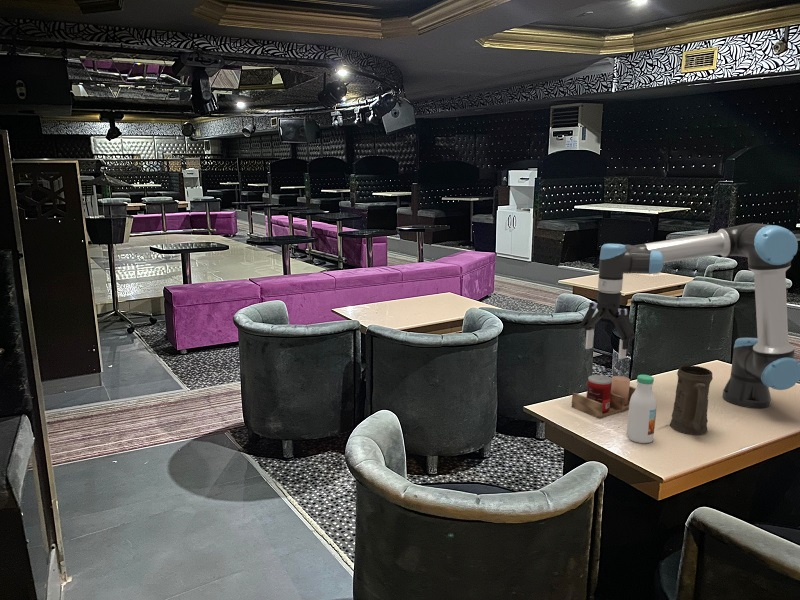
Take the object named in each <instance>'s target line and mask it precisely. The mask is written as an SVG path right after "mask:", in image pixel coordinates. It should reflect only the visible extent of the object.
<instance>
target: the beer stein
mask: <svg viewBox="0 0 800 600" xmlns="http://www.w3.org/2000/svg"><path fill="white" fill-rule="evenodd" d="M676 375H677V384H676V389H675V398H674V403H673V410H672V412H671V413H672V414H671V420H670V424H669V425H670V427H671V428H672V429H674V430H675V431H677V432H679V433H682V434H687V435H693V436H694V435H695V436H696V435H697V436H701V435H705V434H706V433H708V429H709V428H708V422H709V421H708V407H709V393H710V386H711V385H710V384H711V382H712V381H713V372H712V371H711V370H710V369H708V368H705V367H702V366H698V365H681V366H679V367H678V370H677V372H676Z"/></svg>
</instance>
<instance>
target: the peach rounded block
mask: <svg viewBox="0 0 800 600" xmlns="http://www.w3.org/2000/svg"><path fill="white" fill-rule="evenodd" d="M611 379H612V386H611V393H614V394H616V395H619V396H622V397H624V398H625V402H624V406H627V405H628V397H629V386H630V384H631V379H630V378H629V377H627V376H624V375H623V376H622V375H614V376H613V375H612V376H611Z"/></svg>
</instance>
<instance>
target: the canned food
mask: <svg viewBox="0 0 800 600" xmlns="http://www.w3.org/2000/svg"><path fill="white" fill-rule="evenodd" d="M611 386H612V377H609V376H606V375H601V374H592V375H589V376H588V378H587V385H586V387H587V388H586V397H587V398H589V399H592V400H594V401H597V402H599V403H602V404H603V407H602V413H606V412H608V411H609V408H610V397H611Z"/></svg>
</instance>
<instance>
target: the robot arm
mask: <svg viewBox="0 0 800 600" xmlns="http://www.w3.org/2000/svg"><path fill="white" fill-rule="evenodd" d="M798 245H799V243H798V240H797V237H796V236H795V234H794V232H792V231H791V230H790V229H787V228H785V227H783V226H780V225H775V224H773V225H772V224H763V223H758V222H755V223H754V222H752V223H746V224H740V225H735V226H731V227H724V228H719V230H717V232H713V233H706V234H701V235H700V234H698V235H691V236H685V237H681V238H679V237H678V238H674V239H668V240H661V241H660V240H659V241H653V242H648V243H642V244H635V245H631V244H621V243H604V244H603V245H601V248H600V253H599V254H600V255H599V268H598V269H599V271H598V273H599V274H598V282H597V283H598V284H597V289H598V291H597V296H596V301H592V302H589V305H588V309H587V310H586V312H585V315H584V317H583V318H582V320H581V323H580V324H579V325H580V327H582V328H584V338H585V348H584V349H586V350H588V349H593V346H594V345H593V344H594V333H595V332H594V331H595V330H594V329H593V328H594V327H595V326H596V324H598V322H599V321H600V320H601V319H606V320H609V321H611V322H612V323H613V324H614V327H615V328H616V330H617V332H618V333H619V335H620V337H621V338H620V339H619V345H618V359H619V360H623V359H626V357H627V350H628V349H629V344H630V340H633V339H635V338H636V335H635V333H634V329H633V326H632V325H633V324H632V322H631V319H630V316H629V309H628V308H621V307H620V305H621V303H622V292H621V291H623V282H624V274H626V275H627V274H636V275H637V274H640V275H641V274H642V275H643V274H646V275H651V274H652V275H653V274H654V275H655V274H659V273H661V272H662V270H663V268H664V263H671V262H677V261H685V260H692V259H697V258H703V257H704V258H705V257H711V256H719V255H720V256H721V257H722V258H723V257H724V258H725V257H737V256H738V257H744V258H747V263H748V264H747V265H748V270H750V271H751V272H752V273H753V275H754V276H753V279H754V297H755V312H756V313H755V314H756V315H755V316H756V331H757V333H756V334H757V337H739V338H737V339H735V341H734V345H733V352H732V353H733V355H732V361H731V362H732V363H731V369H730V377H729V379H728V380H727V383H726V384H725V387H724V388H723V389H722V396H721V397H722V398H723V399H724V400H725V401H726V402H728V403H731V404H733V405H737V406H741V407H745V408H756V409H763V408H764V409H765V408H768V407H770V406H771V405H772V404H771V403H772V395H771V392H770V389H773V390H776V391H783V390H785V391H786V390H788V389H791V388H793V387H794V386H796V384H797V383H799V381H800V362H799V360H797V359H796V358H795V347H794V345H792V344H791V343H790V342H789V331H788V330H789V328H788V326H789V325H788V304H787V301H788V300H787V299H788V298H787V284H786V283H787V282H786V281H787V279H786V278H787V277H786V272H787V271H788V270H789V269H790V268H791V266H792V263H791V262H792V260H793V259H794V256H796V255H797V252H798V250H799V249H798V247H799V246H798ZM596 310H597V312H596ZM595 312H596V313H595Z"/></svg>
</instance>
